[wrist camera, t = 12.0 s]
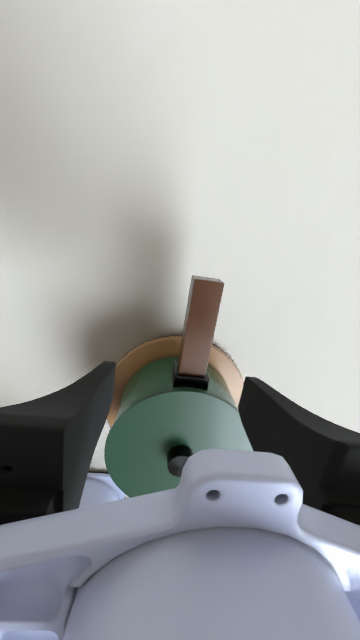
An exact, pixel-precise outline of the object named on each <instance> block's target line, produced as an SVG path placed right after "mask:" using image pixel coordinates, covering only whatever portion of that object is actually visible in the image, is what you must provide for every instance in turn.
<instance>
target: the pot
mask: <svg viewBox="0 0 360 640" xmlns="http://www.w3.org/2000/svg"><path fill="white" fill-rule="evenodd" d="M223 287H224V283H223V282H222V281H221V280H219V279H214V278H207V277H200V276H192V279H191V285H190V291H189V297H188V303H187V309H186V315H185V321H184V327H183V333H182V339H181V345H180V351H179V356H173V357H166V358H161V359H158V360H155V361H153V362H150V363H148V364H146V365H145V366H143V367H142V368H140V369H139V370H138V371H137V372H135V373H134V374H133V376H132V377H131V378H130V379H129V380H128V382H127V383H126V385H125V387H124V389H123V392H122V395H121V399H120V403H119V407H118V411H117V415H116V418H115V422H114V423H113V425H112V427H111V429H110V431H109V434H108V436H107V440H106V444H105V463H106V467H107V470H108V473H109V475H110V477H111V479H112V480H113V482H114V483H115V484H116V486H117V487H118V488H119V489H120V490H121V491H122V492H123V493H125V494H126V495H127V496H129V497H130V498H131V497H136V496H141V495H145V494H150V493H155V492H160V491H164V490H169V489H174V488H176V487H177V486H178V485H179V483H180V480H181V475H182V470H183V467H184V465H185V463H186V461H187V460H188V458H189V457H190V456H192V455H194V454H195V453H197V452H198V451H200V450H206V449H213V448H215V449H228V450H241V451H253V449H252V447H251V444H250V442H249V440H248V437H247V435H246V432H245V430H244V428H243V425H242V422H241V418H240V415H239V410H238V408H237V406H236V404H235V401H234V399H233V397H232V394H231V392H230V390H229V387H228V385H227V383H226V381H225V380H224V378H223V377H222V375H221V374H220V373H219V372H218V371H217V370H216V369H214V368H213V367H212V366H210V365H209V364H208V360H209V356H210V351H211V346H212V341H213V336H214V331H215V326H216V321H217V316H218V312H219V307H220V302H221V297H222V292H223Z"/></svg>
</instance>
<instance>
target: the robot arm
mask: <svg viewBox="0 0 360 640" xmlns="http://www.w3.org/2000/svg"><path fill="white" fill-rule="evenodd" d="M115 369H116V362H106V361H104V362H103V363H101V364H100V365H99V366H97V367H96V368H95V369H94V370H92V371H91V372H89V373H88V374H87V375H85V376H84V377H82V378H81V379H79V380H77V381H76V382H74V383H73V384H71V385H69V386H67V387H65V388H63V389H61V390H59V391H57V392H54V393H52V394H49V395H46V396H44V397H41V398H38V399H35V400H32V401H28V402H24V403H20V404H16V405H11V406H6V407H1V408H0V640H360V433H357V432H355V431H352V430H349V429H346V428H344V427H341V426H339V425H336V424H334V423H332V422H330V421H327V420H325V419H323V418H321V417H319V416H317V415H315V414H313V413H311V412H309V411H308V410H306V409H304V408H302V407H301V406H299V405H297V404H296V403H294V402H293V401H291V400H289V399H288V398H286V397H285V396H283V395H282V394H280V393H279V392H278V391H276V390H275V389H273V388H272V387H270V386H269V385H268V384H266V383H265V382H263V381H261V380H260V379H258V378H255V377H246V378H245V381H244V385H243V389H242V393H241V397H240V401H239V405H238V410H239V415H240V418H241V422H242V425H243V428H244V430H245V432H246V435H247V437H248V440H249V442H250V444H251V447H252V449H253V451H241V450H228V449H215V448H213V449H206V450H200V451H198V452H197V453H195V454H194V455H192V456H190V457H189V458H188V460H187V461H186V463H185V465H184V467H183V470H182V475H181V480H180V483H179V485H178V486H177V487H176V488H174V489H169V490H164V491H160V492H155V493H150V494H145V495H141V496H136V497H131V498H126V499H124V494H125V493H123V492H122V491H121V490H120V489H119V488H118V487H117V486H116V484H115V483H114V482H113V480H112V479H111V477H110V475H109V474H104V473H88V471H89V467H90V463H91V460H92V456H93V453H94V450H95V447H96V445H97V442H98V439H99V437H100V434H101V432H102V429H103V427H104V424H105V421H106V419H107V416H108V414H109V410H110V406H111V402H112V398H113V391H114V380H115Z"/></svg>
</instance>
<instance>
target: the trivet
mask: <svg viewBox="0 0 360 640" xmlns="http://www.w3.org/2000/svg"><path fill="white" fill-rule="evenodd" d="M181 339H182V336H167V337H161V338H157V339H154V340H150V341H148V342H145V343H143V344H141V345H139V346H137V347H136V348H134V349H133V350H131V351H130V352H129V353H128V354H126V355H125V356H124V357H123V358H122V359H121V360H120V361H119V362H118V364H117V365H116V369H115V380H114V391H113V398H112V402H111V406H110V410H109V414H108V416H107V420H108V422H109V424H110V426H111V427H112V425H113V423H114V422H115V418H116V415H117V411H118V407H119V403H120V399H121V395H122V392H123V389H124V387H125V385H126V383H127V382H128V380H129V379H130V378H131V377H132V376H133V374H134V373H135V372H137V371H138V370H139V369H140V368H142V367H143V366H145V365H146V364H148V363H150V362H153V361H155V360H158V359H161V358H166V357H173V356H179V351H180V345H181ZM208 364H209V365H210V366H212V367H213V368H214V369H216V370H217V371H218V372H219V373H220V374H221V375H222V377H223V378H224V380H225V381H226V383H227V385H228V387H229V390H230V392H231V394H232V397H233V399H234V401H235V404H236V406H237V408H238V405H239V401H240V397H241V393H242V389H243V385H244V382H243V378H242V376H241V374H240V372H239V370H238V368H237V367H236V365H235V364H234V362H233V361H232V360H231V358H230V357H229V356H228V355H227V354H226V353H224V352H223V351H222V350H221V349H219V348H218V347H216V346H215V345H213V344H212V346H211V351H210V356H209V360H208Z"/></svg>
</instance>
